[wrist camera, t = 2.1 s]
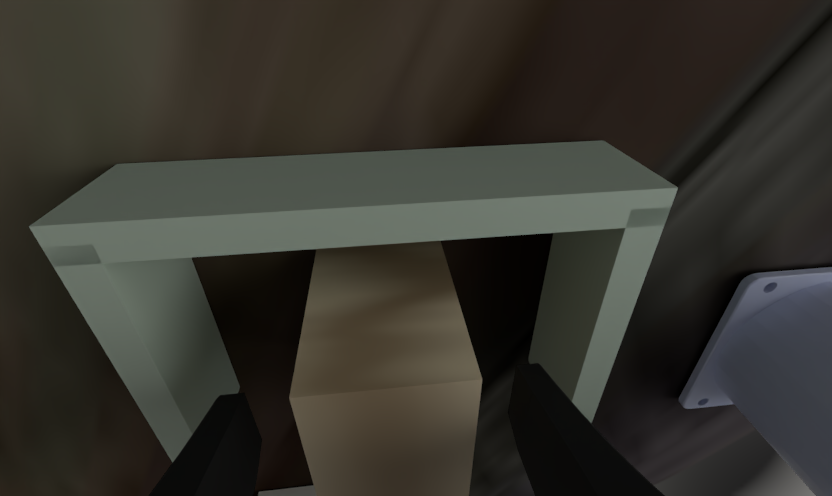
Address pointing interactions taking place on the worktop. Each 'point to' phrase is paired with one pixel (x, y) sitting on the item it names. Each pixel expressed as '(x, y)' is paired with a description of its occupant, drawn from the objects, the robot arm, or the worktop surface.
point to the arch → (346, 227)
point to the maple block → (386, 374)
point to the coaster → (291, 492)
